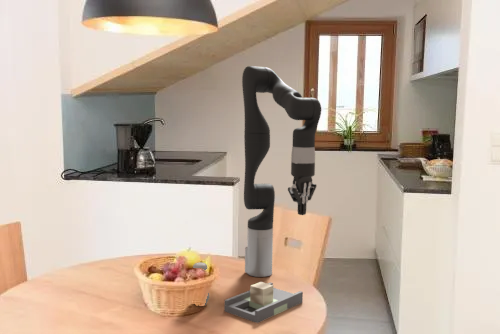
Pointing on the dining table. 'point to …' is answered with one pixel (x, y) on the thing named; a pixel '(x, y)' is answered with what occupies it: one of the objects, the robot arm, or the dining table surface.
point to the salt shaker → (204, 266)
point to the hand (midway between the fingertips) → (301, 214)
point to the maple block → (261, 293)
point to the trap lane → (257, 312)
